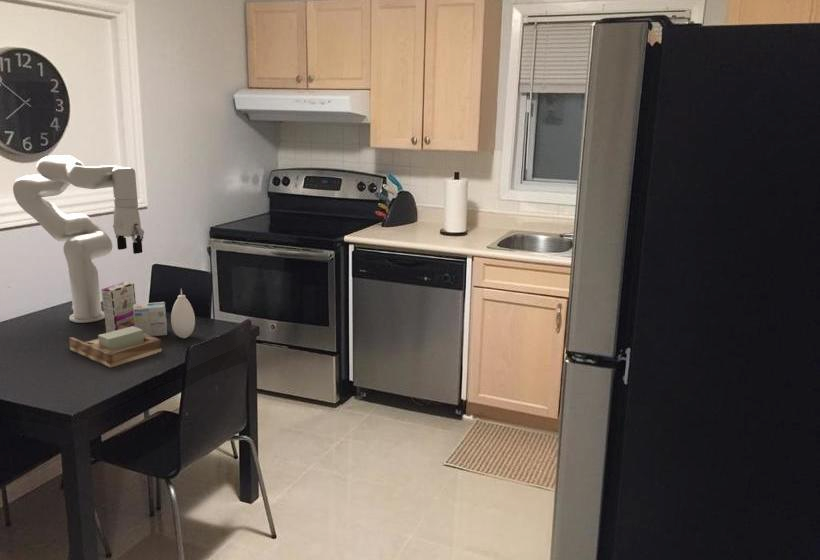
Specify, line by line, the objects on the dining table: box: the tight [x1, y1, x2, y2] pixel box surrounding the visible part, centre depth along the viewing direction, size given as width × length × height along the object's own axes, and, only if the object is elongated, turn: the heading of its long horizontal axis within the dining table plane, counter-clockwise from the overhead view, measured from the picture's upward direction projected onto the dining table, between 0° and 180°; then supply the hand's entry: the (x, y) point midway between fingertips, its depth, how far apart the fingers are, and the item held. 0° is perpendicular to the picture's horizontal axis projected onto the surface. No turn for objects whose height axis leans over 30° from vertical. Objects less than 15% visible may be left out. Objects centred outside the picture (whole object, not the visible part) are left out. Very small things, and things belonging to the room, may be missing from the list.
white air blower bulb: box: [170, 288, 196, 339], centre depth 228 cm, size 8×8×18 cm
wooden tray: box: [68, 325, 163, 368], centre depth 216 cm, size 24×18×4 cm
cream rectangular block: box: [97, 326, 144, 351], centre depth 213 cm, size 6×12×6 cm, turn 143°
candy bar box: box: [101, 281, 137, 333], centre depth 235 cm, size 11×5×16 cm, turn 161°
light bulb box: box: [133, 301, 168, 337], centre depth 232 cm, size 11×7×11 cm, turn 111°
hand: (130, 251), depth 233 cm, fingers open, 9 cm apart
